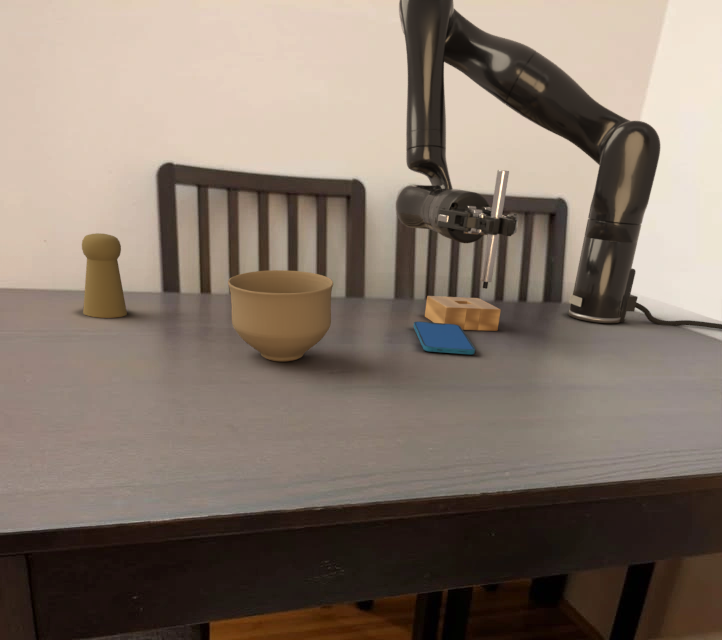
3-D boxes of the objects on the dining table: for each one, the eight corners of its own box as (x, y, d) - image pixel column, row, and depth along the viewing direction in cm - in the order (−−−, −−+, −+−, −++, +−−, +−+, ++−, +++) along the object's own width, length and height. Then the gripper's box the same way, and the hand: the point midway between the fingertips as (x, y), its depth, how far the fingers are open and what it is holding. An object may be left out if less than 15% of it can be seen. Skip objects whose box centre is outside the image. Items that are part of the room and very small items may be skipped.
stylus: (487, 287, 108) (506, 170, 101) (492, 289, 106) (511, 171, 100) (477, 286, 107) (495, 169, 101) (481, 288, 106) (500, 170, 99)
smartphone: (424, 346, 100) (412, 321, 114) (423, 353, 101) (412, 327, 114) (476, 350, 101) (459, 324, 115) (475, 357, 101) (458, 330, 115)
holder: (475, 318, 127) (478, 298, 125) (497, 331, 118) (501, 309, 117) (424, 316, 124) (427, 295, 123) (443, 329, 116) (446, 307, 115)
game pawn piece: (93, 318, 102) (88, 237, 98) (76, 310, 106) (70, 231, 102) (134, 316, 106) (131, 237, 101) (116, 307, 110) (112, 231, 105)
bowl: (206, 353, 91) (206, 271, 87) (280, 341, 100) (283, 266, 96) (275, 378, 83) (279, 289, 79) (349, 362, 92) (355, 282, 88)
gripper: (420, 186, 113) (461, 194, 97) (502, 193, 116) (553, 202, 101) (415, 237, 116) (453, 252, 100) (494, 242, 119) (543, 258, 104)
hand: (503, 227), depth 101 cm, fingers closed on stylus, 1 cm apart
